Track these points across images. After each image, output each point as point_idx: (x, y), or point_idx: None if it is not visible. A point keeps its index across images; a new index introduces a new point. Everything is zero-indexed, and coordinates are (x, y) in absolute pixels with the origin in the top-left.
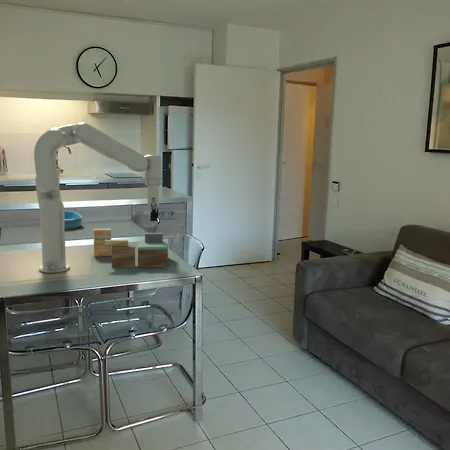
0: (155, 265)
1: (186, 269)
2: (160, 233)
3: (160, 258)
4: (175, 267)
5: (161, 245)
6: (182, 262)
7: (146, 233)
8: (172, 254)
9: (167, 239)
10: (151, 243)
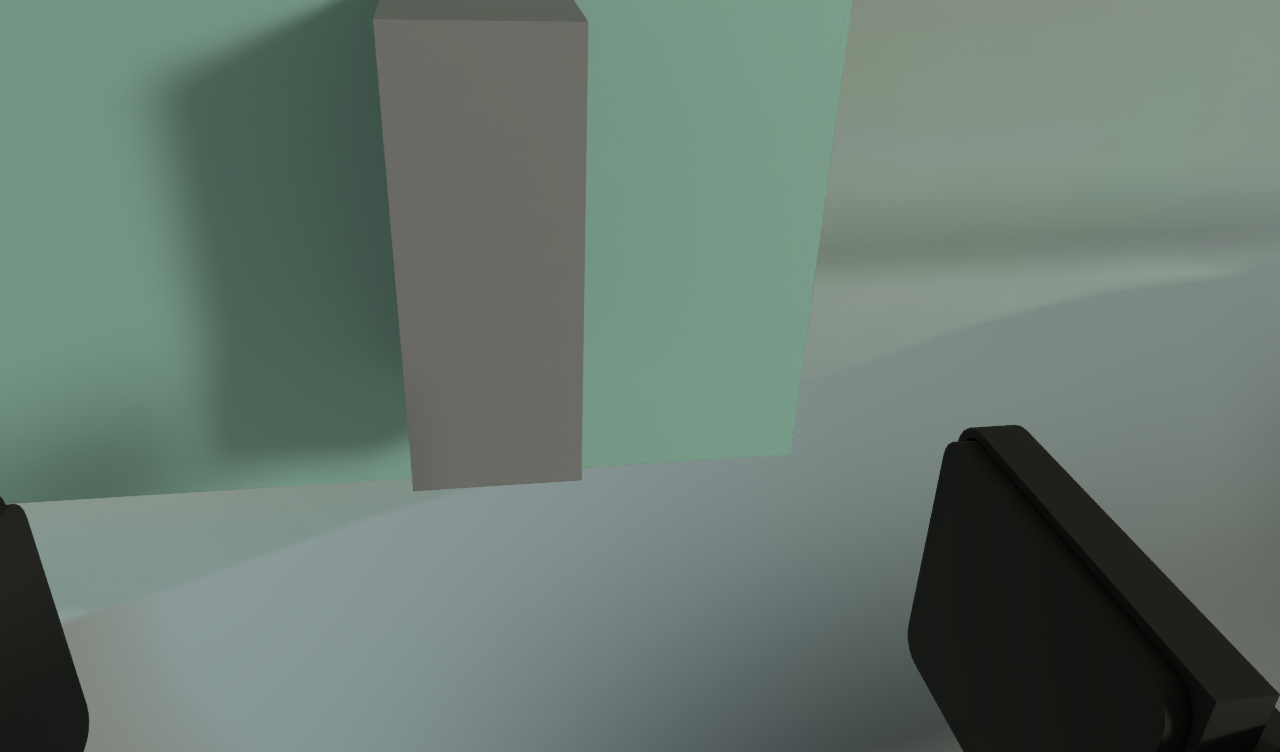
0: None
1: None
2: (487, 442)
3: None
4: None
5: (100, 383)
6: (408, 486)
7: (475, 66)
8: (880, 339)
9: (727, 446)
10: (292, 151)
